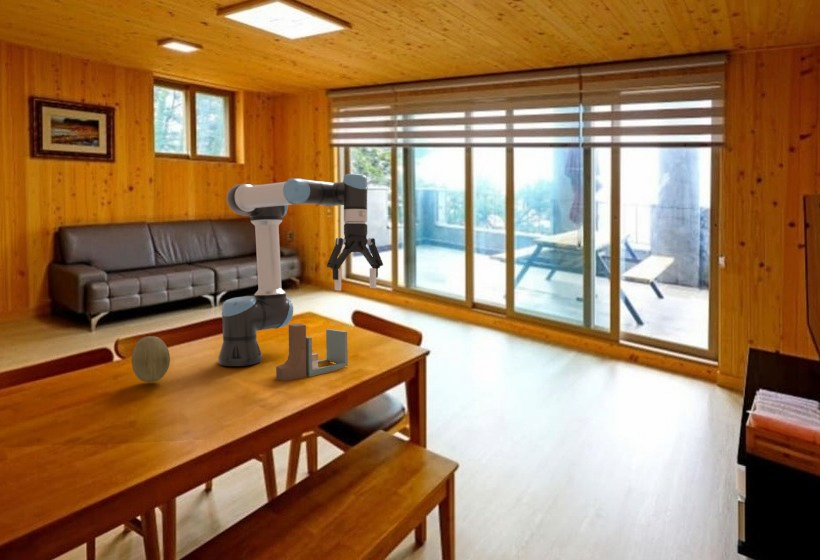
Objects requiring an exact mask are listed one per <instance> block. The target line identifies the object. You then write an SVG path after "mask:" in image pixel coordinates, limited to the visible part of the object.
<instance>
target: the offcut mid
mask: <svg viewBox="0 0 820 560" xmlns="http://www.w3.org/2000/svg"><path fill="white" fill-rule="evenodd" d="M318 361H319V359H318V360H317V361H312V368H316V367H319V364H318Z"/></svg>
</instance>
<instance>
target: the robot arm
mask: <svg viewBox="0 0 820 560" xmlns="http://www.w3.org/2000/svg"><path fill="white" fill-rule="evenodd" d="M368 188H369V187H368V178H367V176H366V175H365V174H362V173H361V174H360V173H346V174H344V175H343V180H342V181H339V182H331V181H329V182H328V181H319V180H312V179H311V180H310V179H303V178H288V179H287V181H283V182H282V181H281V182H273V183H267V184H266V183H265V184H249V183H248V184H247V183H240V184H239V183H238V184H235V185H234V186H232V187H231V188H230V189H229V190H228V192H227V195H226V203H227V205H228V207H229V209H230V210H231V211H232V212H233V213H235V214H237V215H240V216H243V217H250V223H251V224H252V225H254V229H255V245H256V246H255V247H256V248H255V249H256V266H257V267H256V268H257V285H258V286H257V287H258V289H257V291H256V292H255V293H254V296H253V295H251V296H250V295H245V296H239V297H238V296H237V297H232V298H229V299H226V300H225V301H223V303H222V306H221V307H222V308H221V316H222V319H221V320H222V321H221V322H222V345H221V348H220V351H219V355H218V364H219V366H225V367H243V366H250V365H255V364H259V363H261V362H262V361H263V354H262V351H261V348H260V345H259V343H258V340H257V338H258V337H257V332H258V331H259V332H261V331H266V330H271V329H279V328H284V327H286V326H287V325H289V323H290V322H291V320H292V319H293V315H294V305H293V302H292V300H291V298H289V297H287V292H286V291H285V290H284V289H283V288H282V268H281V251H280V250H281V248H280V233H279V232H280V231H279V230H280V229H279V228H280V227H279V226H280V224H281V223H282V222H283V218H284V217H285V216H286V215H287V213H288V212H287V211H289V210H288V209H289V206H291V205H293V206H294V205H319V206H320V205H321V206H323V207H336V206H343V222H345V223H344V225H343V235H344V238H342V237H336V238H335V242H334V247H333V249H332V252H331V253H330V256H329V259H328V261H327V264H326V267H327V268H329V269H331V270H332V280H333V281H334V291H339V292H341V291H342V269H340V268H341V267H342V265H343V263H344V262H345V260H346V259H347V258H348V256H349V255H350V254H351V253H361V254H362V256H363V257H364V258H365V260H366V261H367V263H368V264H369V265H370V268H369V288H370V289H377V278H378V277H379V276H378V275H379V269H381V267H382V266H384V263H383V260H382V258H381V256H380V252H379V251H378V247H377V246H376V245H377V244H376V238H373V237H372V238H371V237H370V238H367V236H368V224H367V222H368ZM343 245H344V247H343ZM368 248H369V249H368Z"/></svg>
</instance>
